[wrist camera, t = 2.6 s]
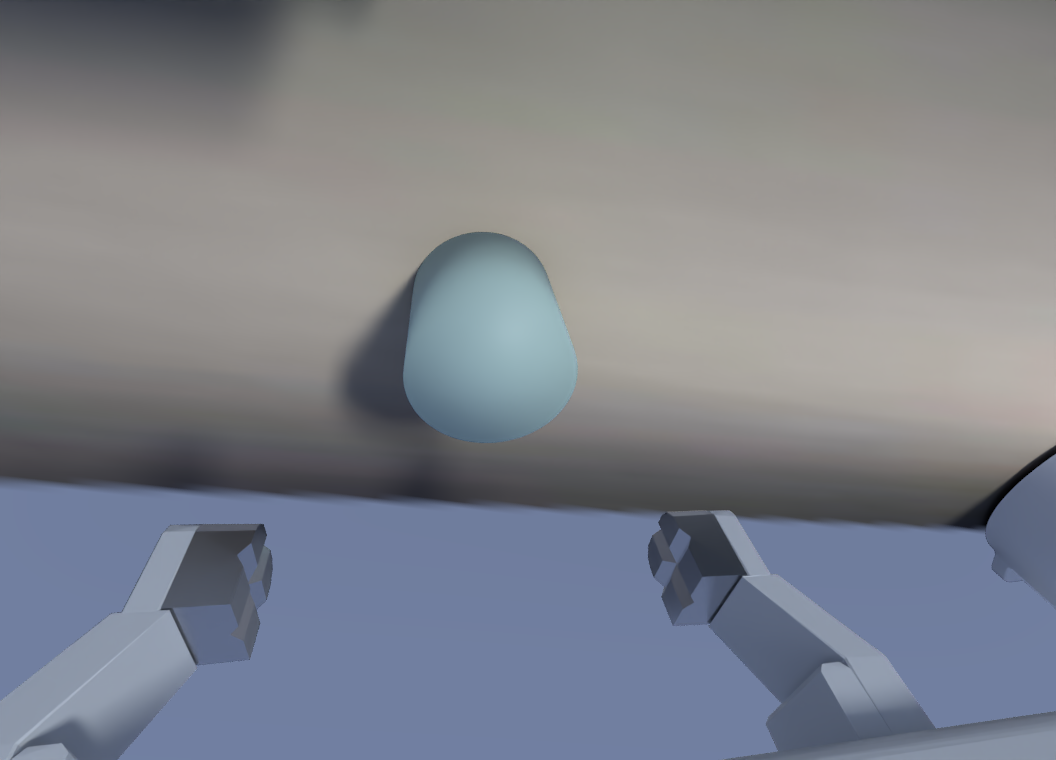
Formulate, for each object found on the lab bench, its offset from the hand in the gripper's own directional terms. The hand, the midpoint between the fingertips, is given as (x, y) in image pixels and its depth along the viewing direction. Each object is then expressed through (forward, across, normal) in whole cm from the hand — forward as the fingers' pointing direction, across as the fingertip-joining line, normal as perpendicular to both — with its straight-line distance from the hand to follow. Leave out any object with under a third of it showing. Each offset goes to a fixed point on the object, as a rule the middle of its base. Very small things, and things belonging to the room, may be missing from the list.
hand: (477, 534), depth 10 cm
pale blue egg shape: (+10, -1, 0) cm, 10 cm away
